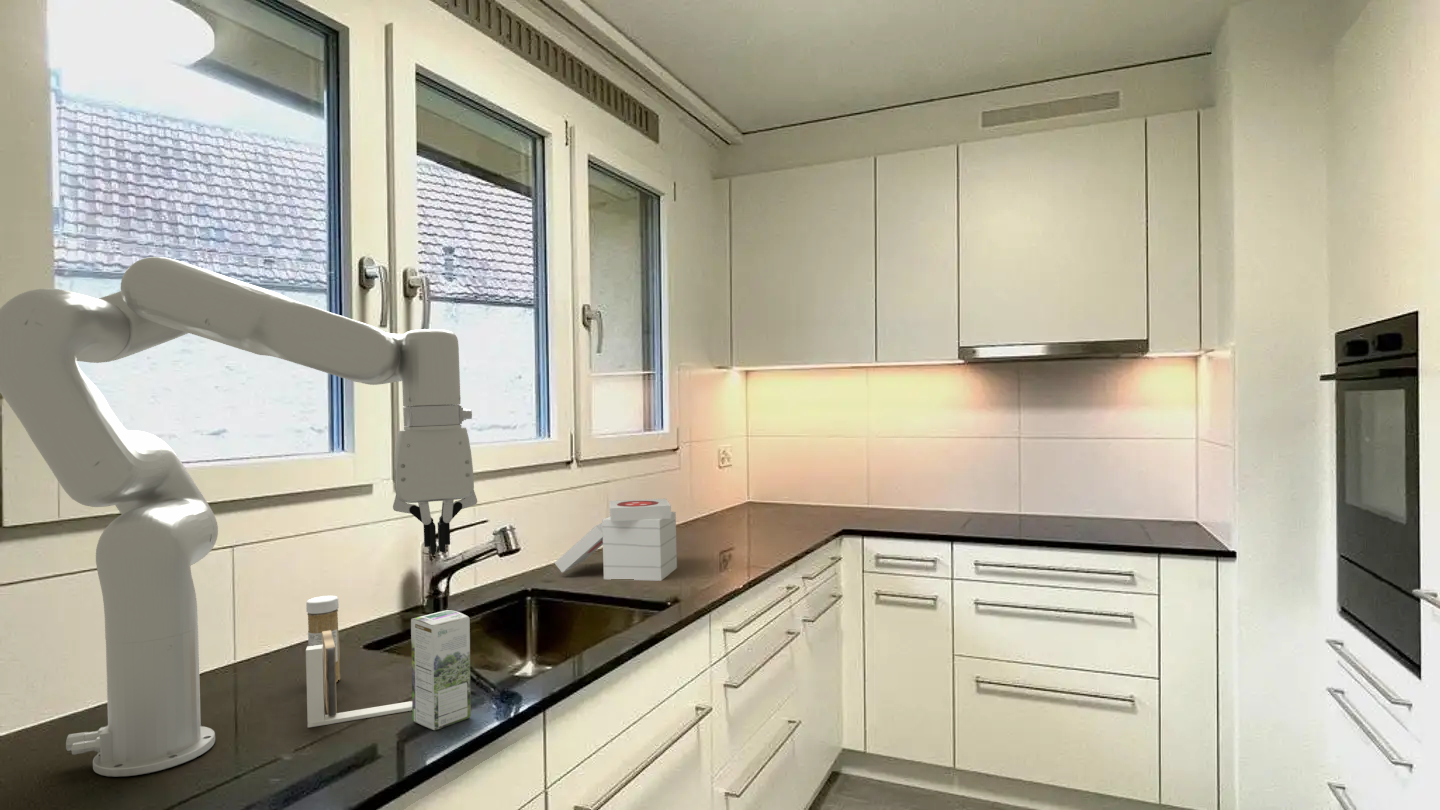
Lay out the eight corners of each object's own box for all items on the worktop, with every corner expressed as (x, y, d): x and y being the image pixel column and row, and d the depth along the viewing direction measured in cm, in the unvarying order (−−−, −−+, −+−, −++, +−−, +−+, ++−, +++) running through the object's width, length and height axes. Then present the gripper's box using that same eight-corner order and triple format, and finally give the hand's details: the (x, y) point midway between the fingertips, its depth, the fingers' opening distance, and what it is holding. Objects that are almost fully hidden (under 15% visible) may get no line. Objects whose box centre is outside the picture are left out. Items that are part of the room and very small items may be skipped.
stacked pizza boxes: (580, 564, 214) (578, 498, 214) (686, 566, 208) (684, 498, 208) (550, 580, 195) (548, 507, 195) (666, 583, 189) (664, 508, 189)
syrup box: (449, 708, 113) (446, 608, 113) (472, 718, 109) (470, 614, 109) (411, 721, 108) (409, 617, 108) (435, 732, 105) (432, 623, 105)
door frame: (307, 727, 107) (305, 650, 107) (309, 721, 109) (307, 646, 109) (432, 706, 114) (430, 634, 114) (431, 701, 116) (429, 630, 116)
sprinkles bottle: (341, 675, 128) (339, 593, 128) (338, 684, 124) (336, 599, 124) (310, 679, 127) (308, 596, 127) (306, 689, 122) (304, 602, 122)
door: (338, 714, 109) (337, 648, 109) (327, 716, 109) (326, 650, 109) (333, 690, 119) (332, 630, 119) (323, 692, 118) (322, 631, 118)
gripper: (485, 417, 115) (490, 541, 115) (372, 421, 109) (377, 553, 109) (492, 417, 108) (497, 549, 109) (373, 421, 102) (378, 562, 102)
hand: (437, 550), depth 109 cm, fingers closed
